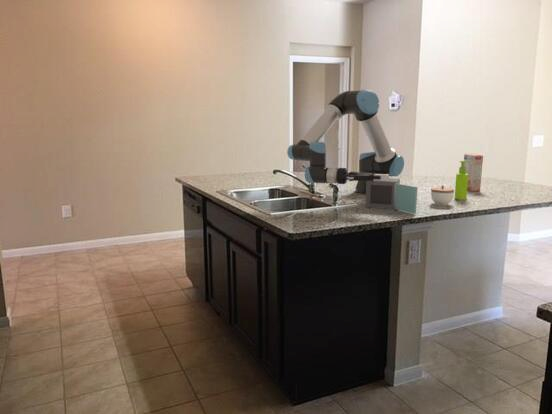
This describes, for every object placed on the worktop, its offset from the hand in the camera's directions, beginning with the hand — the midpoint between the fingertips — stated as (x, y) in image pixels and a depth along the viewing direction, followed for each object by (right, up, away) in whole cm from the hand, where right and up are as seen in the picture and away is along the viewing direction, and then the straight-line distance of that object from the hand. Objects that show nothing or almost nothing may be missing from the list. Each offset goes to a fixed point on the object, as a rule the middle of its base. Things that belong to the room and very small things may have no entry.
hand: (388, 177), depth 211 cm
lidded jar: (+32, -12, +22) cm, 41 cm away
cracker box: (+66, -3, +69) cm, 95 cm away
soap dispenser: (+48, -9, +38) cm, 62 cm away
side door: (+9, -15, +5) cm, 18 cm away
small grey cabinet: (+3, -13, +18) cm, 23 cm away
